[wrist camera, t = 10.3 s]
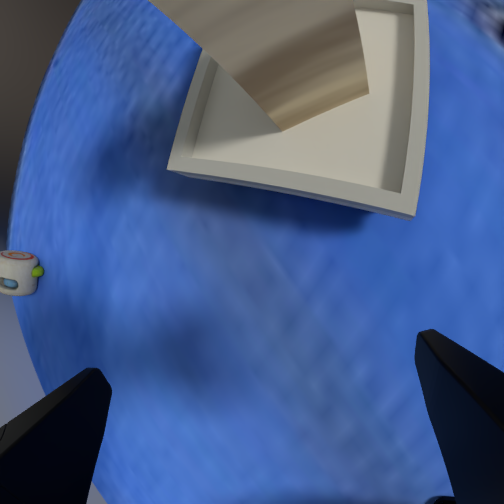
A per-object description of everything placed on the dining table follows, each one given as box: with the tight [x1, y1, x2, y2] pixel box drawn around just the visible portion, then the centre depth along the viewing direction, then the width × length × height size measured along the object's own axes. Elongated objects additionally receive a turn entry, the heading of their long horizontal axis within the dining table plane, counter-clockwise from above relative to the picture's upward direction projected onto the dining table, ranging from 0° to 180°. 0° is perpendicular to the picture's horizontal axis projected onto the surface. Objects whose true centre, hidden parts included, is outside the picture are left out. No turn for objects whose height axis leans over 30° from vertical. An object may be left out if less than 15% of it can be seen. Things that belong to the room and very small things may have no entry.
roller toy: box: [0, 250, 44, 296], centre depth 28 cm, size 4×6×6 cm
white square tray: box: [167, 0, 430, 221], centre depth 16 cm, size 13×13×5 cm
